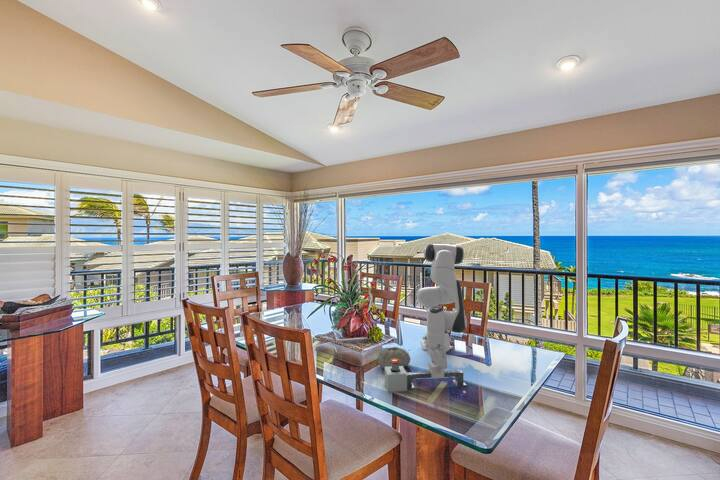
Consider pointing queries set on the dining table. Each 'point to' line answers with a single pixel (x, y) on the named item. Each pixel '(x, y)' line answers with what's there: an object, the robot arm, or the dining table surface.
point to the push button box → (395, 379)
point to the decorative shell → (393, 356)
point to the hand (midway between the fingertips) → (436, 370)
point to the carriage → (433, 371)
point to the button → (395, 364)
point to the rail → (457, 374)
